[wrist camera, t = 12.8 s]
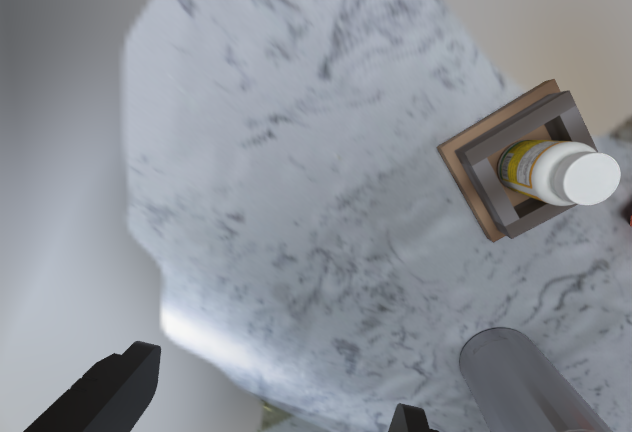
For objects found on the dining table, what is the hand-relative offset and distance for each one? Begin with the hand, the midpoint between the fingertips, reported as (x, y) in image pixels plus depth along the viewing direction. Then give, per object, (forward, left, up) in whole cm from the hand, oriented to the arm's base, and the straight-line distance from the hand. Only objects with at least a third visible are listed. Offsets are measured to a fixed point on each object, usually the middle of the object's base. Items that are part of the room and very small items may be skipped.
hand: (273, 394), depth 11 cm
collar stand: (-7, -20, -28) cm, 35 cm away
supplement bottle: (-7, -20, -27) cm, 34 cm away
